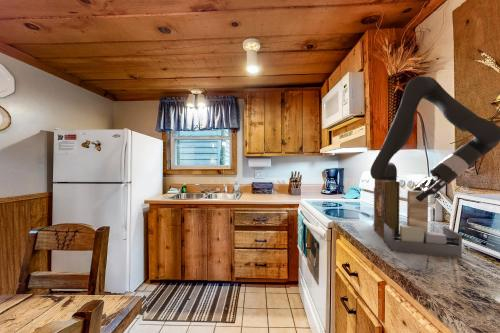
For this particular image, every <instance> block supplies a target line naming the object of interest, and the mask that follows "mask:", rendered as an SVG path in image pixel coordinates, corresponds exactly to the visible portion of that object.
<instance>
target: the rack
mask: <svg viewBox="0 0 500 333" xmlns="http://www.w3.org/2000/svg"><path fill="white" fill-rule="evenodd" d="M442 230H443V231H442V234H444V235H446V244H435V243H422V242H410V241H400V232H399V233H394V230H393V229H392V228H391V227H390V226H389V225H388V224H387V223H384V239H383V242H384V244H385V245H386V247H387V248H388V249H389V250H390V252H392V251H396V252H395V253H401V252H403V253H402V254H412V253H413V254H414V255H425V256H433V257H434V256H435V257H444V258H457V259H462V257H463V256H462V254H463V248H462V247H463V235H462V234H460V233H458V232H456V231H455V230H453V229H451V228H449V227H447V226H443V228H442Z"/></svg>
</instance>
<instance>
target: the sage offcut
mask: <svg viewBox="0 0 500 333" xmlns="http://www.w3.org/2000/svg"><path fill="white" fill-rule="evenodd" d="M399 233H400V241H410V242H422V243H424V229H423V228H422V227H415V226H407V225H399Z"/></svg>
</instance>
